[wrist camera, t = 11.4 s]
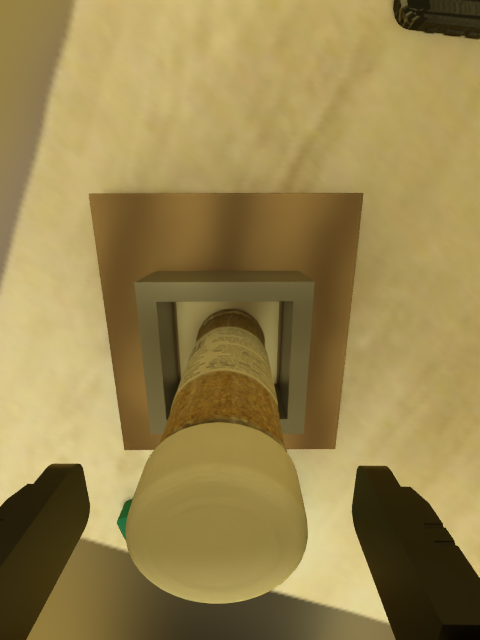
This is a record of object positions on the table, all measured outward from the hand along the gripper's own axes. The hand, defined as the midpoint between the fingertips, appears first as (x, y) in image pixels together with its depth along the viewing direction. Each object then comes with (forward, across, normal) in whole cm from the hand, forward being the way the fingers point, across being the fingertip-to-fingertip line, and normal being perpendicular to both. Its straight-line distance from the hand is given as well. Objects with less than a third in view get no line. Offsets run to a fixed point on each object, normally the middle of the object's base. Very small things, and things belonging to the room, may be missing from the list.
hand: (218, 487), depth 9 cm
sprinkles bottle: (+12, 0, 0) cm, 12 cm away
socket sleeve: (+12, 0, 0) cm, 12 cm away
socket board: (+14, 0, 0) cm, 14 cm away
